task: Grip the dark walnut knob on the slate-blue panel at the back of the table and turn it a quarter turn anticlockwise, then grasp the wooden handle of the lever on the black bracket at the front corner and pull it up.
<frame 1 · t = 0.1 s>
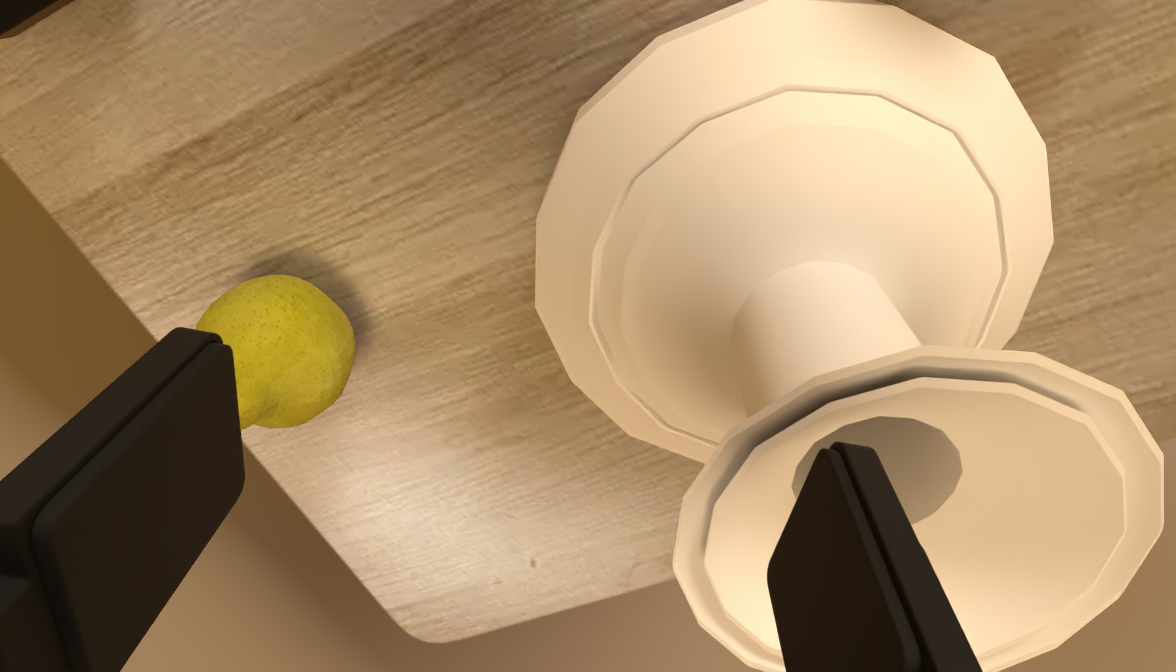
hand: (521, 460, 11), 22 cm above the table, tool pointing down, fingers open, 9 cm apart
fruit: (308, 314, 36), on the table
white vase: (760, 225, 32), on the table
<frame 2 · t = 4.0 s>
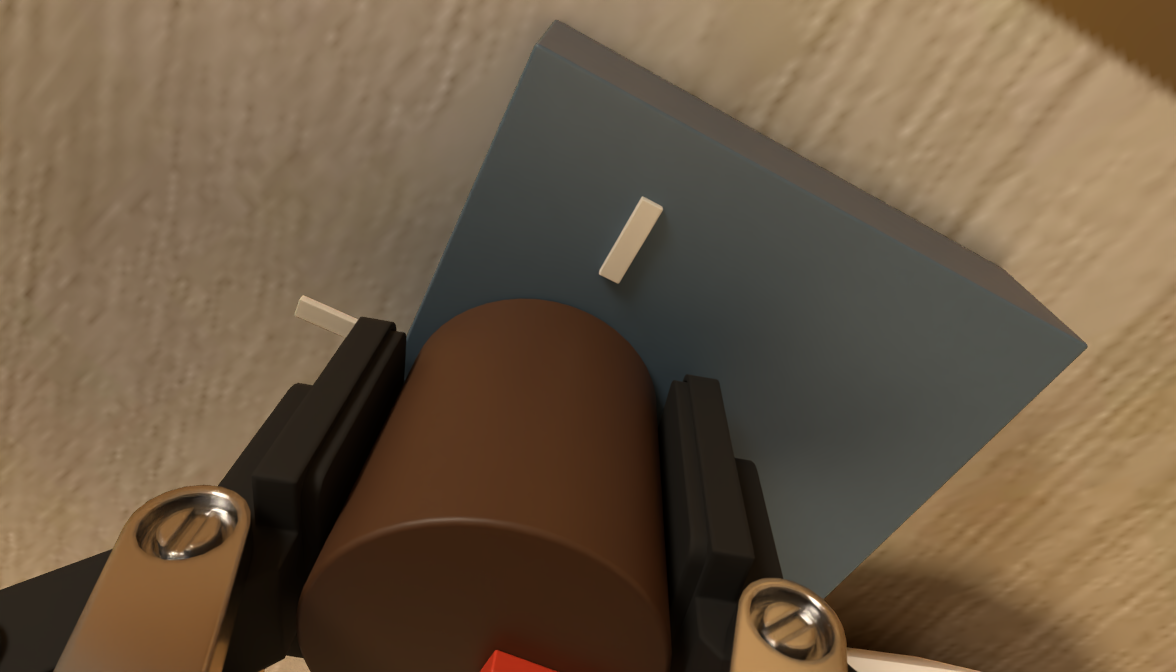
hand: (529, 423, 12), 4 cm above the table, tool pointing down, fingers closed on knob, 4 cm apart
knob: (511, 513, 10), point 6 cm above the table, hinge at -0.1°, touching gripper
panel: (684, 318, 15), on the table
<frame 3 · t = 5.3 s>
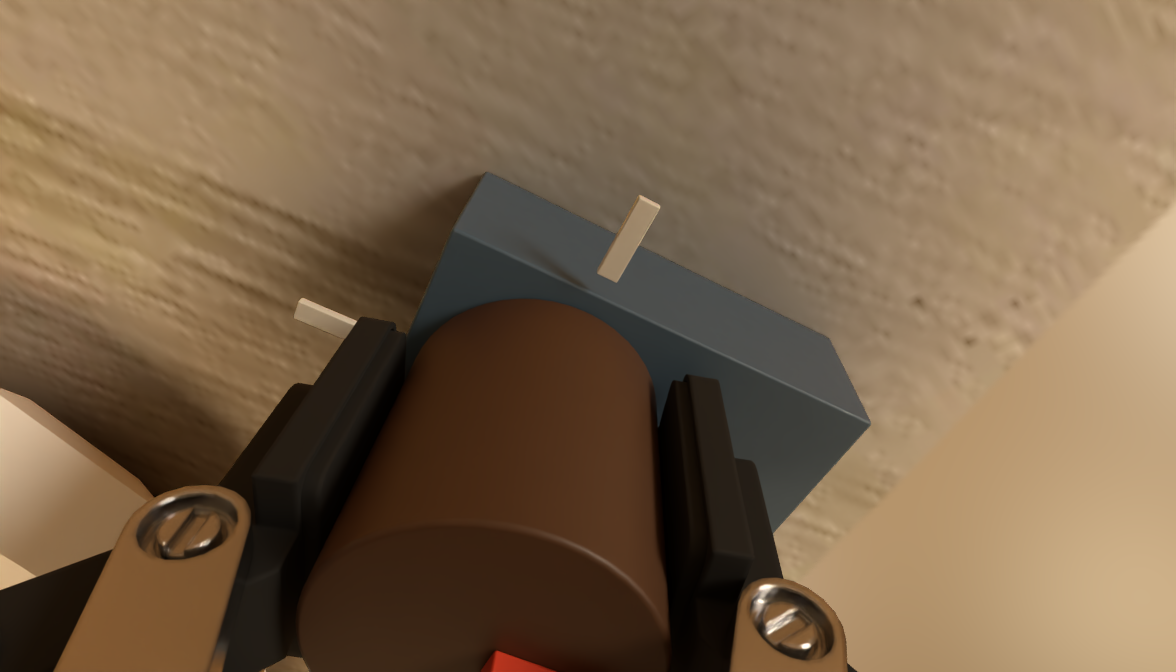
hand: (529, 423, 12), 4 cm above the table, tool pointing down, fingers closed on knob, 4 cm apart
knob: (511, 514, 10), point 6 cm above the table, hinge at 89.9°, touching gripper
panel: (562, 430, 17), on the table
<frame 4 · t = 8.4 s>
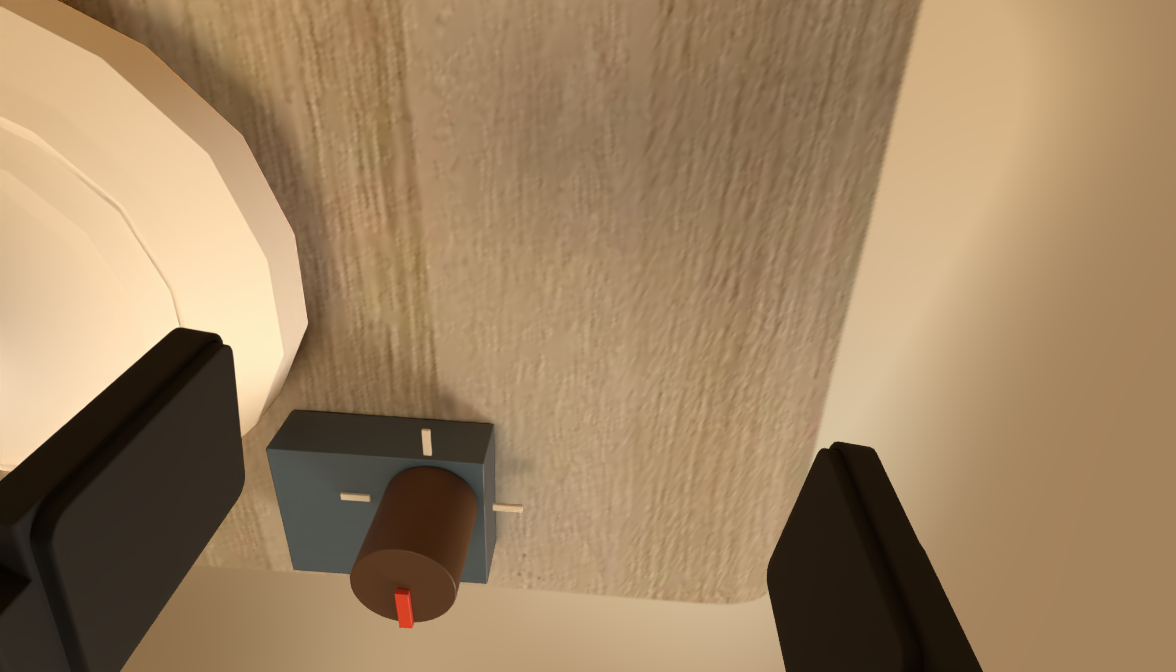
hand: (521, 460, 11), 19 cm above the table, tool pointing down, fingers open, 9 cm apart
knob: (417, 544, 31), point 6 cm above the table, hinge at 90.8°
white vase: (103, 227, 30), on the table
panel: (399, 478, 36), on the table
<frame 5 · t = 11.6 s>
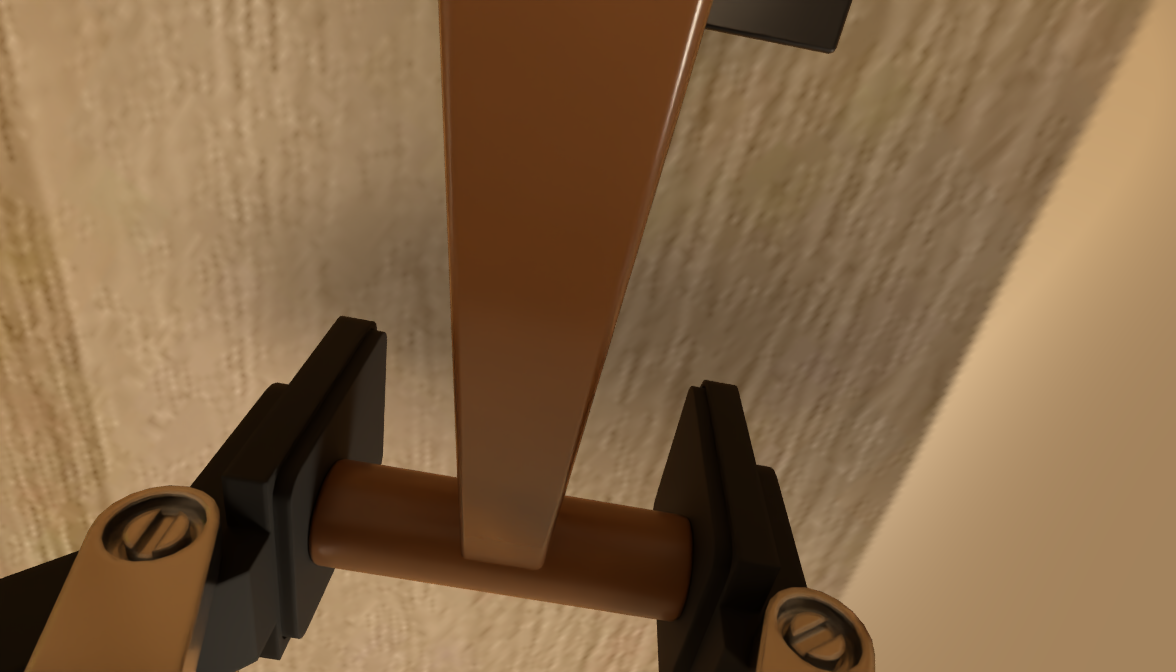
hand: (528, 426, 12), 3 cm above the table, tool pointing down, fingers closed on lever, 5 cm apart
lever: (540, 278, 5), point 8 cm above the table, hinge at -25.0°, touching gripper
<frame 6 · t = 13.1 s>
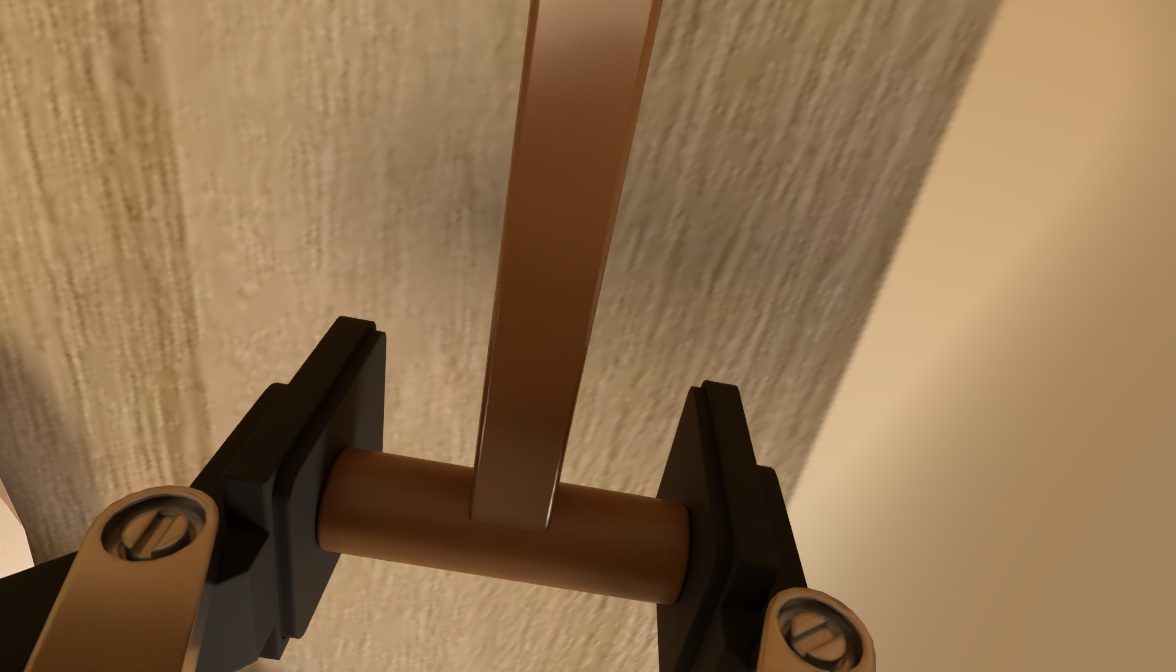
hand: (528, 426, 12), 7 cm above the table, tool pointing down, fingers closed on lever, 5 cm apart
lever: (577, 119, 7), point 10 cm above the table, hinge at -2.0°, touching gripper
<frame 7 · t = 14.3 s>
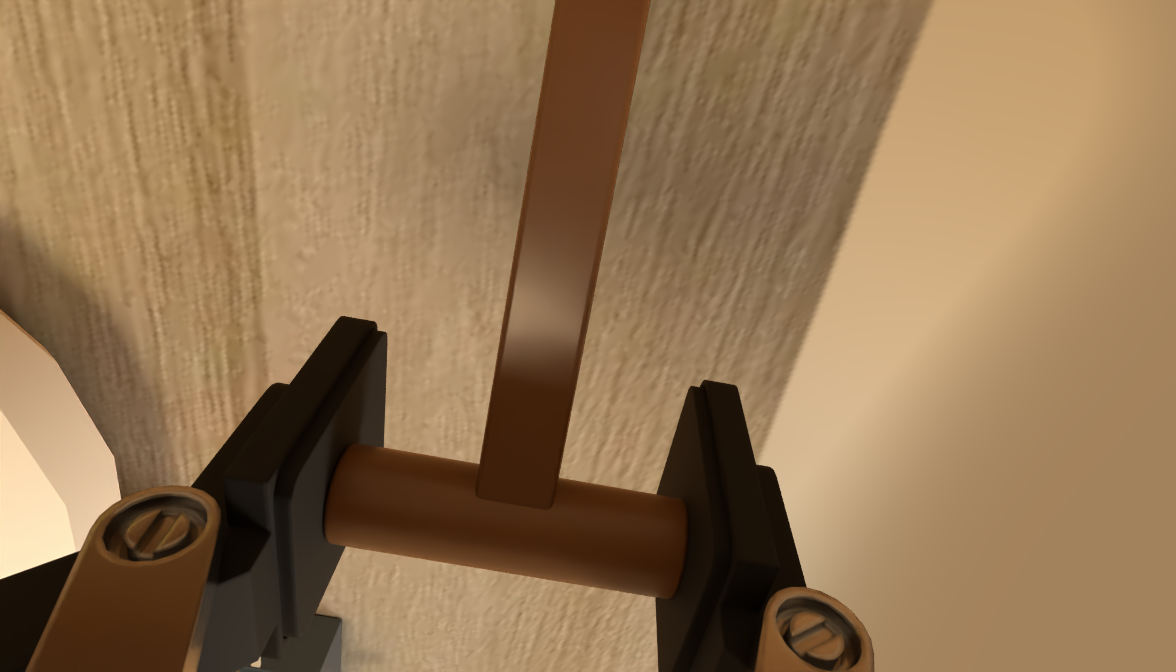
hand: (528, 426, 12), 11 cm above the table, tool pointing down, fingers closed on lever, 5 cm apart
lever: (584, 108, 9), point 12 cm above the table, hinge at 17.0°, touching gripper
panel: (237, 654, 34), on the table
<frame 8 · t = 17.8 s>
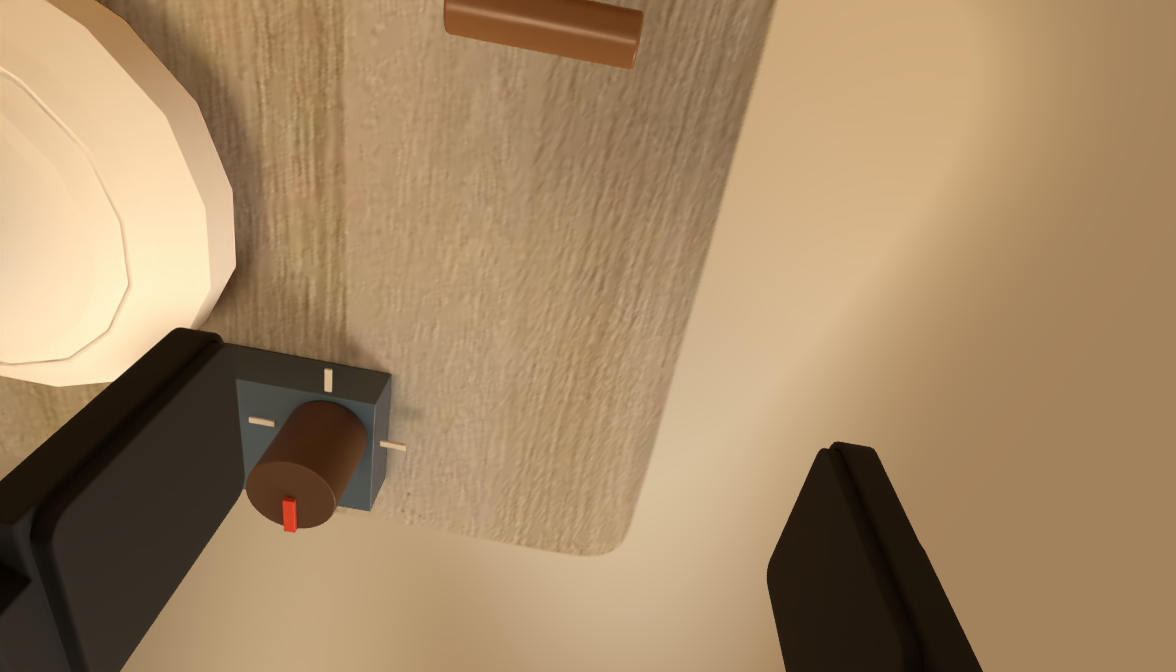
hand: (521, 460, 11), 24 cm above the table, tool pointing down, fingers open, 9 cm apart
knob: (309, 464, 36), point 6 cm above the table, hinge at 90.8°
white vase: (65, 160, 35), on the table
panel: (305, 413, 42), on the table
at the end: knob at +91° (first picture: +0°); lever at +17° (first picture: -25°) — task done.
